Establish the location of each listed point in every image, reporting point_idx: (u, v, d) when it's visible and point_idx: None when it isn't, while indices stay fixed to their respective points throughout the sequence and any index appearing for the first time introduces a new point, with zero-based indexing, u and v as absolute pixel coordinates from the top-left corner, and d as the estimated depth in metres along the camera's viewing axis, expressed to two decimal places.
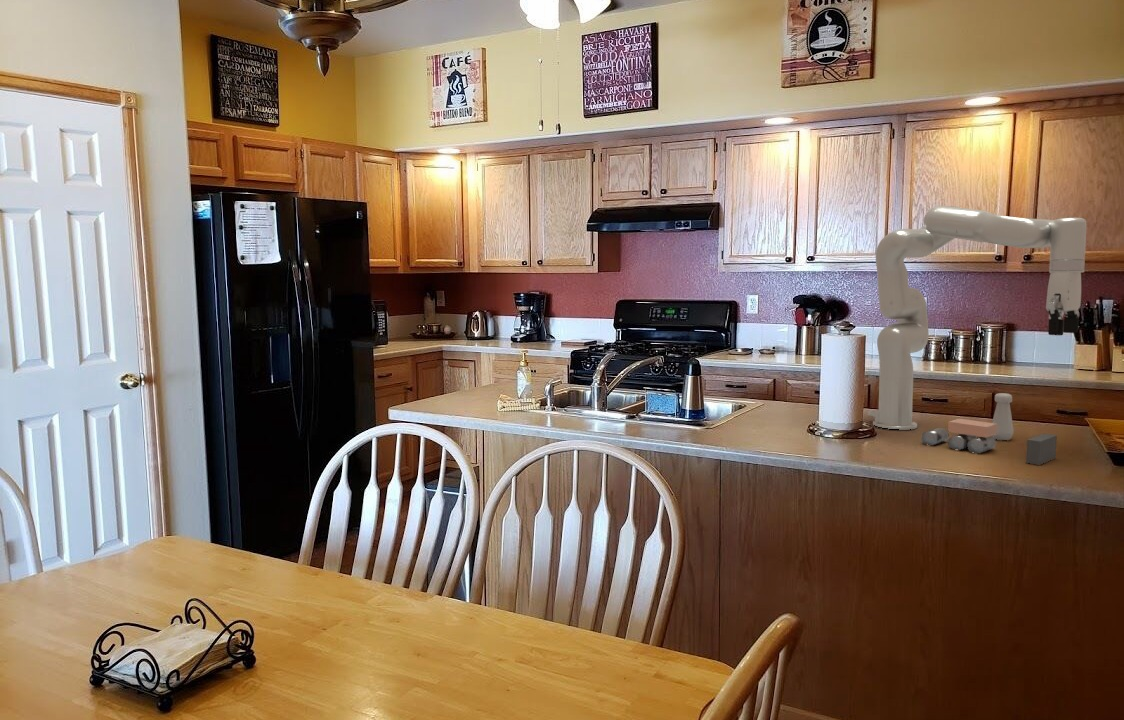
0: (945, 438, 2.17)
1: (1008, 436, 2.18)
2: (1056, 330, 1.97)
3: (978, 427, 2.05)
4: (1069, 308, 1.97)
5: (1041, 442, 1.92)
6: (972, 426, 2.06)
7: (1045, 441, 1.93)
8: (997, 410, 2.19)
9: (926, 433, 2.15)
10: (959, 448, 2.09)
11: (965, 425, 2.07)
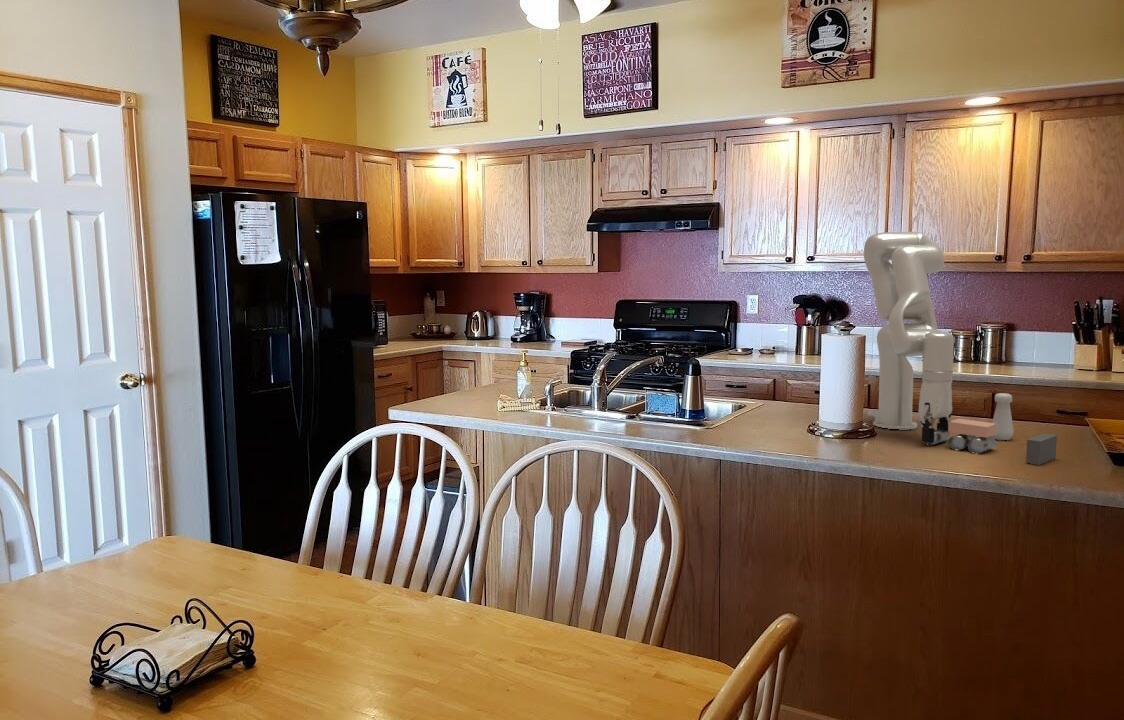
0: (945, 438, 2.17)
1: (1008, 436, 2.18)
2: (928, 438, 2.14)
3: (978, 427, 2.05)
4: (938, 416, 2.13)
5: (1041, 442, 1.92)
6: (972, 426, 2.06)
7: (1045, 441, 1.93)
8: (997, 410, 2.19)
9: None
10: (959, 448, 2.09)
11: (965, 425, 2.07)
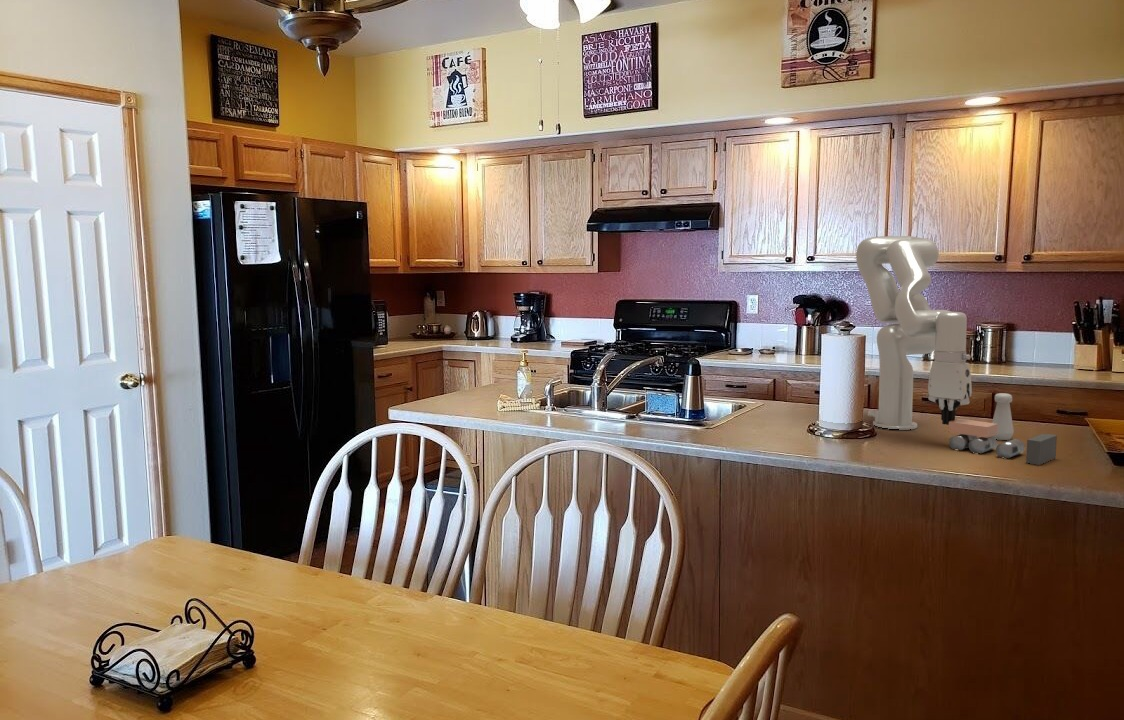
0: (1021, 450, 2.02)
1: (1008, 436, 2.18)
2: None
3: (978, 427, 2.05)
4: (935, 395, 2.14)
5: (1041, 442, 1.92)
6: (972, 426, 2.06)
7: (1045, 441, 1.93)
8: (997, 410, 2.19)
9: (1001, 445, 2.00)
10: (959, 448, 2.08)
11: (965, 425, 2.07)
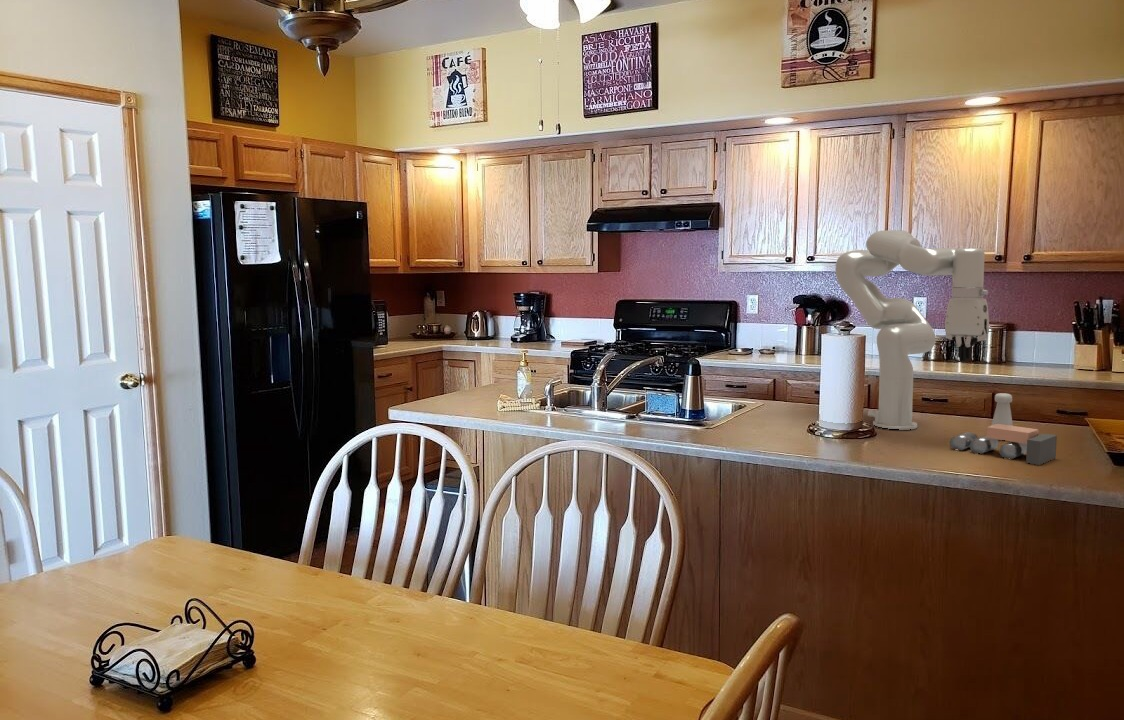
0: (1023, 453, 2.01)
1: None
2: None
3: (1019, 433, 1.97)
4: (952, 332, 2.14)
5: (1041, 442, 1.92)
6: (1012, 432, 1.98)
7: (1045, 441, 1.93)
8: (997, 410, 2.19)
9: (1007, 445, 1.99)
10: (959, 449, 2.08)
11: (1005, 431, 2.00)
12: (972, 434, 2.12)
